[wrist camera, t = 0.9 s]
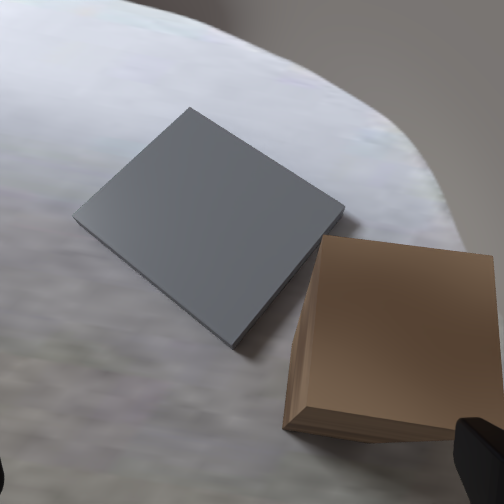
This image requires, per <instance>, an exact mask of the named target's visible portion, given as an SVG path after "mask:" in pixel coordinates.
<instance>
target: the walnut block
mask: <svg viewBox="0 0 504 504" xmlns="http://www.w3.org/2000/svg"><path fill="white" fill-rule="evenodd" d="M465 417H480V418H483V419H484V420H486V421H488V422H490V423H492V424H494V425H495V426H497V427H499V428H501V429H503V430H504V390H503V378H502V365H501V352H500V339H499V326H498V314H497V301H496V288H495V276H494V262H493V256H490V255H482V254H474V253H466V252H458V251H450V250H442V249H434V248H426V247H418V246H410V245H403V244H395V243H387V242H379V241H371V240H363V239H355V238H347V237H339V236H331V235H323V237H322V240H321V244H320V248H319V251H318V255H317V258H316V262H315V265H314V269H313V272H312V276H311V279H310V283H309V286H308V290H307V293H306V297H305V300H304V304H303V307H302V311H301V315H300V318H299V322H298V325H297V329H296V332H295V336H294V339H293V343H292V349H291V357H290V366H289V374H288V383H287V392H286V400H285V409H284V417H283V426H282V429H285V430H291V431H297V432H303V433H309V434H315V435H321V436H327V437H333V438H339V439H346V440H352V441H358V442H364V443H389V442H417V441H444V440H454V438H455V426H456V422H457V420H458V419H459V418H465Z"/></svg>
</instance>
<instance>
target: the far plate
mask: <svg viewBox="0 0 504 504" xmlns="http://www.w3.org/2000/svg"><path fill="white" fill-rule="evenodd" d="M344 209H345V206H344V205H343V204H341V203H340V202H338V201H337V200H335V199H333V198H332V197H330V196H329V195H327V194H326V193H324V192H322V191H321V190H319V189H318V188H316V187H315V186H313V185H311V184H310V183H308V182H307V181H305V180H304V179H302V178H300V177H299V176H297V175H296V174H294V173H293V172H291V171H289V170H288V169H286V168H285V167H283V166H282V165H280V164H279V163H277V162H275V161H274V160H272V159H271V158H269V157H268V156H266V155H264V154H263V153H261V152H260V151H258V150H257V149H255V148H253V147H252V146H250V145H249V144H247V143H246V142H244V141H242V140H241V139H239V138H238V137H236V136H235V135H233V134H231V133H230V132H228V131H227V130H225V129H224V128H222V127H220V126H219V125H217V124H216V123H214V122H213V121H211V120H210V119H208V118H206V117H205V116H203V115H202V114H200V113H199V112H197V111H195V110H194V109H192V108H191V107H189V108H188V109H187V110H186V111H185V112H184V113H183V114H182V115H181V116H179V117H178V118H177V119H176V120H175V121H174V122H173V123H172V124H171V125H170V126H169V127H167V128H166V129H165V130H164V131H163V132H162V133H161V134H160V135H159V136H158V137H157V138H155V139H154V140H153V141H152V142H151V143H150V144H149V145H148V146H147V147H146V148H145V149H143V150H142V151H141V152H140V153H139V154H138V155H137V156H136V157H135V158H134V159H133V160H132V161H130V162H129V163H128V164H127V165H126V166H125V167H124V168H123V169H122V170H121V171H120V172H118V173H117V174H116V175H115V176H114V177H113V178H112V179H111V180H110V181H109V182H108V183H106V184H105V185H104V186H103V187H102V188H101V189H100V190H99V191H98V192H97V193H96V194H94V195H93V196H92V197H91V198H90V199H89V200H88V201H87V202H86V203H85V204H84V205H82V206H81V207H80V208H79V209H78V210H77V211H76V212H75V213H74V214H73V215H72V217H73V218H74V219H75V220H76V221H77V223H78V224H79V225H80V226H81V227H83V228H84V229H85V230H86V231H88V232H89V233H90V234H91V235H92V236H94V237H95V238H96V239H97V240H99V241H100V242H101V243H102V244H104V245H105V246H106V247H107V248H108V249H110V250H111V251H112V252H113V253H115V254H116V255H117V256H118V257H119V258H121V259H122V260H123V261H124V262H126V263H127V264H128V265H129V266H131V267H132V268H133V269H134V270H135V271H137V272H138V273H139V274H140V275H142V276H143V277H144V278H145V279H147V280H148V281H149V282H150V283H151V284H153V285H154V286H155V287H156V288H158V289H159V290H160V291H161V292H162V293H164V294H165V295H166V296H167V297H169V298H170V299H171V300H172V301H174V302H175V303H176V304H177V305H178V306H180V307H181V308H182V309H183V310H185V311H186V312H187V313H188V314H189V315H191V316H192V317H193V318H194V319H196V320H197V321H198V322H199V323H201V324H202V325H203V326H204V327H205V328H207V329H208V330H209V331H210V332H212V333H213V334H214V335H215V336H217V337H218V338H219V339H220V340H221V341H223V342H224V343H225V344H226V345H228V346H229V347H230V348H231V349H232V350H233V349H234V348H235V347H236V346H237V344H238V343H239V342H240V341H241V339H242V338H243V337H244V336H245V335H246V333H247V332H248V331H249V330H250V328H251V327H252V326H253V325H254V323H255V322H256V321H257V320H258V319H259V317H260V316H261V315H262V314H263V312H264V311H265V310H266V309H267V307H268V306H269V305H270V304H271V303H272V301H273V300H274V299H275V298H276V296H277V295H278V294H279V293H280V292H281V290H282V289H283V288H284V287H285V285H286V284H287V283H288V282H289V280H290V279H291V278H292V277H293V276H294V274H295V273H296V272H297V271H298V269H299V268H300V267H301V266H302V264H303V263H304V262H305V261H306V260H307V258H308V257H309V256H310V255H311V253H312V252H313V251H314V250H315V248H316V247H317V246H318V245H319V244H320V242H321V240H322V237H323V235H327V234H328V232H329V231H330V230H331V229H332V228H333V226H334V225H335V224H336V223H337V221H338V220H339V219H340V218H341V216H342V215H343V212H344Z"/></svg>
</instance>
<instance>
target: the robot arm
mask: <svg viewBox="0 0 504 504" xmlns="http://www.w3.org/2000/svg"><path fill="white" fill-rule="evenodd" d="M453 457H454V463H455V466H456V469H457V471H458V474H459V476H460V478H461V481H462V483H463V486H464V488H465V490H466V493H467V495H468V497H469V500H470V502H471V504H504V430H503V429H501V428H499V427H497V426H495V425H494V424H492V423H490V422H488V421H486V420H484V419H483V418H480V417H465V418H459V419H458V420H457V422H456V426H455V438H454V450H453ZM3 485H4V471H3V467H2V463H1V459H0V494H1V492H2V489H3Z"/></svg>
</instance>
